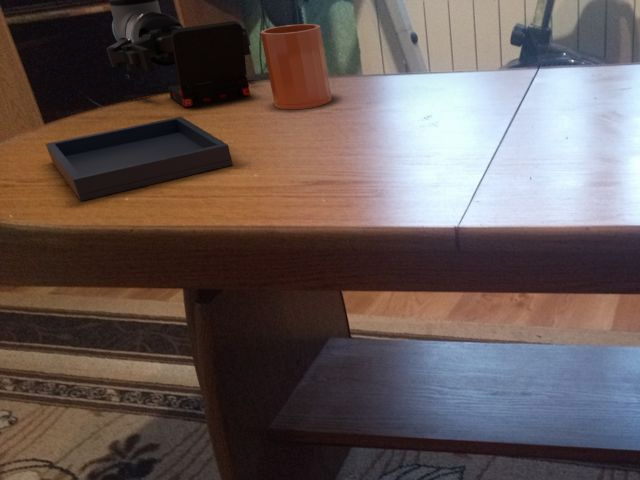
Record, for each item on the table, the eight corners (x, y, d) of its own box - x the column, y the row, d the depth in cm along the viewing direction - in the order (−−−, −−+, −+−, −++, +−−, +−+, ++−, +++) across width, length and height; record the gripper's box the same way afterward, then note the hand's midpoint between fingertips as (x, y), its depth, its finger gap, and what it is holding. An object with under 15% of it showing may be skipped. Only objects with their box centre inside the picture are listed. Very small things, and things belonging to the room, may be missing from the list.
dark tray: (52, 162, 80) (45, 143, 79) (185, 134, 86) (181, 116, 85) (81, 201, 68) (73, 179, 67) (233, 165, 74) (228, 144, 73)
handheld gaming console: (233, 86, 109) (216, 13, 104) (259, 99, 100) (243, 20, 95) (168, 98, 105) (147, 22, 100) (190, 112, 96) (169, 30, 91)
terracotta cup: (266, 103, 98) (251, 30, 93) (317, 93, 101) (305, 22, 96) (288, 112, 92) (273, 36, 88) (341, 101, 96) (329, 27, 91)
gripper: (238, 50, 124) (288, 65, 108) (82, 76, 112) (113, 97, 97) (228, 1, 120) (278, 10, 104) (64, 23, 108) (94, 36, 93)
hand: (198, 52), depth 101 cm, fingers open, 13 cm apart
